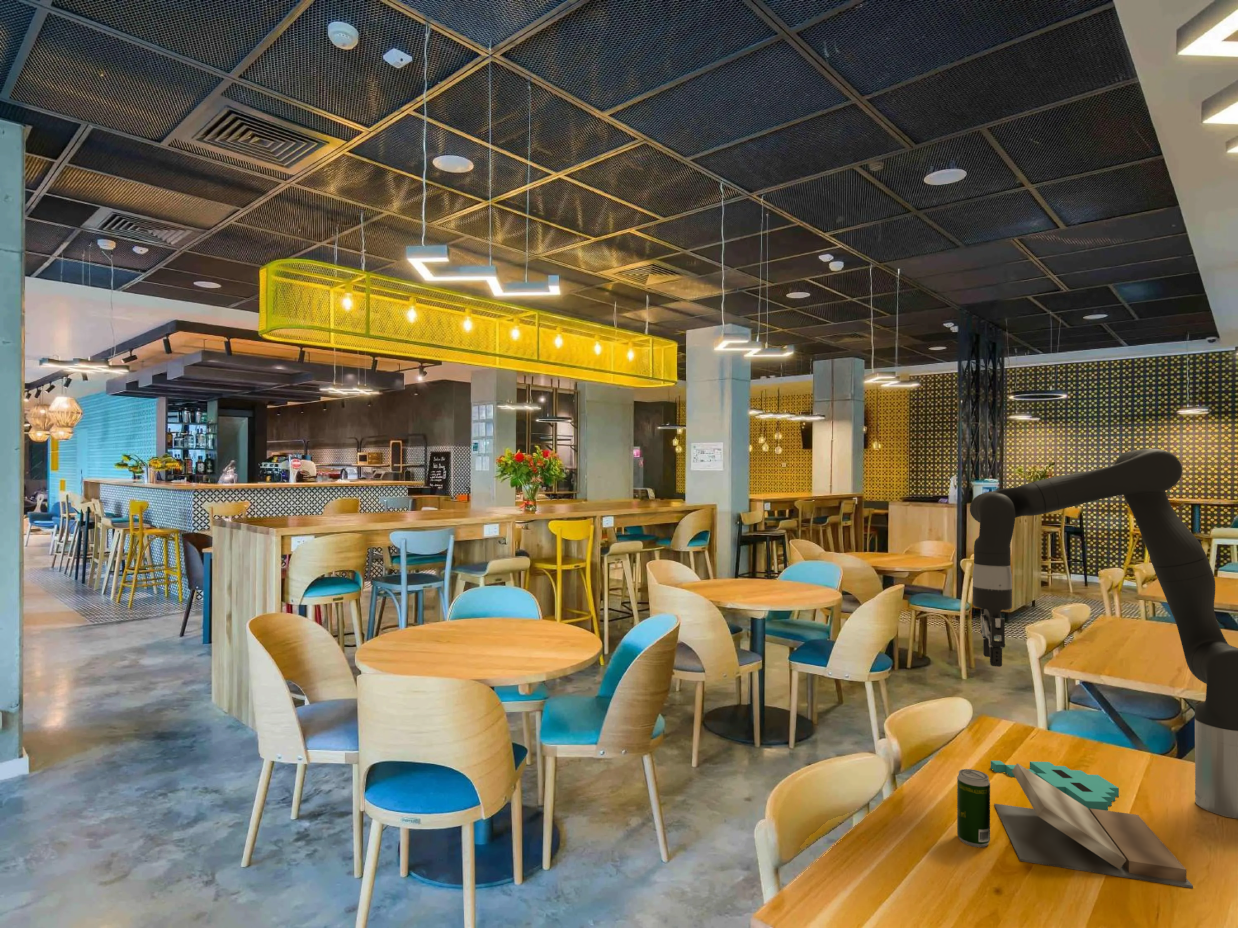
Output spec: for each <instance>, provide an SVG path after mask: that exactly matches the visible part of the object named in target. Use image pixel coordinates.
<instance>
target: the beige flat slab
mask: <svg viewBox="0 0 1238 928" xmlns="http://www.w3.org/2000/svg"><path fill="white" fill-rule="evenodd" d="M1015 765H1016V766H1015V767H1014V769H1013V770H1012V772H1013V774H1014V776H1015V777H1014V778H1015V779H1016V781H1017V783H1018V785H1019V786H1020V788H1021V790H1022V791H1023V793H1024V795H1025V797H1026V798H1027V800H1028V802H1029V804H1030V805H1031V808H1032V809H1034V810H1035V812H1036V814H1037V815H1038V816H1039V817H1040V818H1042V819H1043V820H1045V821H1046V822H1048V823H1049V824H1051V825H1052V826H1054V827H1055V828H1057V829H1058V830H1060V831H1062V832H1063V833H1065V834H1066V835H1068V836H1069V837H1071V838H1072V839H1074V840H1075V841H1077V842H1078V843H1080V844H1081V845H1083V846H1084V847H1086V848H1087V849H1089V850H1091V851H1092V852H1094V853H1095V854H1097V855H1098V856H1100V857H1101V858H1103V859H1104V860H1106V861H1107V862H1109V863H1110V864H1112V865H1113V866H1115V867H1117V868H1118V869H1120V868H1121V867H1122V865H1123V864H1124V863H1125V861H1126V859H1125V857H1124V856H1123V855H1122V853H1121V852H1120V851H1119V849H1118V848H1117V847H1116V845H1115V844H1114V843H1113V841H1112V840H1111V839H1110V837H1109V836H1108V835H1107V833H1106V832H1105V831H1104V829H1103V828H1102V827H1101V825H1100V824H1099V823H1098V821H1097V820H1096V819H1095V817H1094V816H1093V815H1092V813H1091V812H1090V810H1089V809H1088V808H1087V807H1085V806H1084V805H1082V804H1081V803H1079V802H1077V801H1076V800H1074V799H1073V798H1071V797H1070V796H1068V795H1067V794H1065V793H1063V792H1062V791H1060V790H1059V789H1057V788H1056V787H1054V786H1052V785H1051V784H1049V783H1048V782H1046V781H1045V780H1043V779H1041V778H1040V777H1038V776H1037V775H1035V774H1034V773H1032V772H1031V771H1029V770H1027V769H1028V768H1026V767H1024V766H1022V765H1021V764H1019V763H1016V764H1015Z"/></svg>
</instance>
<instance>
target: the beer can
mask: <svg viewBox="0 0 1238 928" xmlns="http://www.w3.org/2000/svg"><path fill="white" fill-rule="evenodd" d="M956 777H957V779H956V781H957V785H956V786H957V787H956V791H957V792H956V793H957V794H956V795H957V796H956V797H957V798H956V799H957V800H956V801H957V803H956V804H957V805H956V806H957V807H956V808H957V809H956V810H957V811H956V815H957V817H956V827H957V829H956V834H957V837H958V839H959V841H960V842H962V843H963V844H965V845H967V846H970V847H974V848H985V847H988V845H989V843H990V842H991V782H990V780H989V775H988V774H987V773H984V772H983V771H981V770H976V769H971V768H962V769H960V770H959V771H958V775H957V776H956Z"/></svg>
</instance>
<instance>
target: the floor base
mask: <svg viewBox="0 0 1238 928" xmlns="http://www.w3.org/2000/svg"><path fill="white" fill-rule="evenodd" d="M993 806H994V808H995V810H996V812H997V815H998V817H999V819H1000V820H1001V823H1002V825H1003V827H1004V830H1005V832H1006V834H1007V835H1008V838H1009V841H1010V843H1011V844H1012V847H1013V848H1014V851H1015V854H1016V855H1017V858H1018V860H1019V861H1020V862H1026V863H1031V864H1032V863H1033V864H1039V865H1044V866H1051V867H1056V868H1063V869H1069V870H1076V871H1080V872H1081V871H1082V872H1089V873H1095V874H1101V875H1107V876H1114V877H1121V878H1127V879H1132V880H1137V881H1139V880H1140V881H1143V882H1145V881H1146V882H1150V883H1158V884H1164V885H1169V884H1170V886H1178V887H1182V888H1183V887H1184V888H1189V889H1193V888H1194V884H1192V883H1191V881H1190V880H1189V879H1188V878H1187V868H1185V866H1184V865H1183V864H1182V863H1181V861H1180V860H1179V859H1178V858H1177V857H1176V856H1175V855H1174V853H1173V852H1172V851H1171V850H1170V849H1169V848H1168V847H1167V846H1166V844H1165V843H1163V841H1162V840H1161V839H1160V838H1159V837H1158V836H1157V834H1155V832H1154V831H1153V830H1152V829H1151V828H1150V827H1149V826H1148V824H1147V823H1146V822H1145V821H1144V820H1143V819H1142V818H1141V816H1140V815H1139V814H1136V813H1135V814H1134V813H1128V812H1120V811H1111V810H1108V811H1106V810H1099V809H1091V808H1090V810H1089V811H1090V812H1091V813H1092V815H1093V816H1094V817H1095V819H1096V820H1097V821H1098V823H1099V824H1100V825H1101V827H1102V828H1103V829H1104V831H1105V832H1106V833H1107V835H1108V836H1109V837H1110V839H1111V840H1112V841H1113V843H1114V844H1115V845H1116V847H1117V848H1118V849H1119V851H1120V852H1121V853H1122V855H1123V856H1124V857H1125V859H1126V861H1125V863H1124V864H1123V865H1122V867H1121V868H1120V869H1118V868H1117V867H1115V866H1113V865H1112V864H1110V863H1109V862H1107V861H1106V860H1104V859H1103V858H1101V857H1100V856H1098V855H1097V854H1095V853H1094V852H1092V851H1091V850H1089V849H1087V848H1086V847H1084V846H1083V845H1081V844H1080V843H1078V842H1077V841H1075V840H1074V839H1072V838H1071V837H1069V836H1068V835H1066V834H1065V833H1063V832H1062V831H1060V830H1058V829H1057V828H1055V827H1054V826H1052V825H1051V824H1049V823H1048V822H1046V821H1045V820H1043V819H1042V818H1040V817H1039V816H1038V815H1037V814H1036V812H1035V810H1034V809H1033V808H1032V807H1023V806H1017V805H1016V806H1014V805H1008V804H1001V803H993Z"/></svg>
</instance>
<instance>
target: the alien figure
mask: <svg viewBox="0 0 1238 928" xmlns="http://www.w3.org/2000/svg"><path fill="white" fill-rule="evenodd" d="M1015 766H1016V764H1006V763H1004V762H1003V761H1001V760H990V769H991V770H992V769H993V770H992V771H993V772H994V773H1001V772H1005V773H1004V774H1007V775H1008V776H1009V777H1010V778H1011V777H1013V778H1015V776H1014V774H1013V772H1012V770H1013V769H1014V767H1015ZM1026 769H1027V770H1029V771H1031V772H1032V773H1034V774H1035V775H1037V776H1038V777H1040V778H1041V779H1043V780H1045V781H1046V782H1048V783H1049V784H1051V785H1052V786H1054V787H1056V788H1057V789H1059V790H1060V791H1062V792H1063V793H1065V794H1067V795H1068V796H1070V797H1071V798H1073V799H1074V800H1076V801H1077V802H1079V803H1081V804H1082V805H1084V806H1085V807H1087V808H1088V809H1089V811H1090V808H1091V809H1099V810H1106V811H1109V806H1111V807H1113V805H1112V804H1113V803H1112V802H1116V797H1120V788H1119V787H1118V786H1116V785H1115V784H1113V783H1111V782H1110V781H1108V780H1107V779H1106V778H1104V777H1102V776H1100V775H1099V774H1088V773H1086V772H1084V771H1083V770H1080V769H1078V770H1077V769H1070V768H1068V767H1067V766H1065V765H1054V764H1053V763H1052V762H1050V761H1029V768H1026Z"/></svg>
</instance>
